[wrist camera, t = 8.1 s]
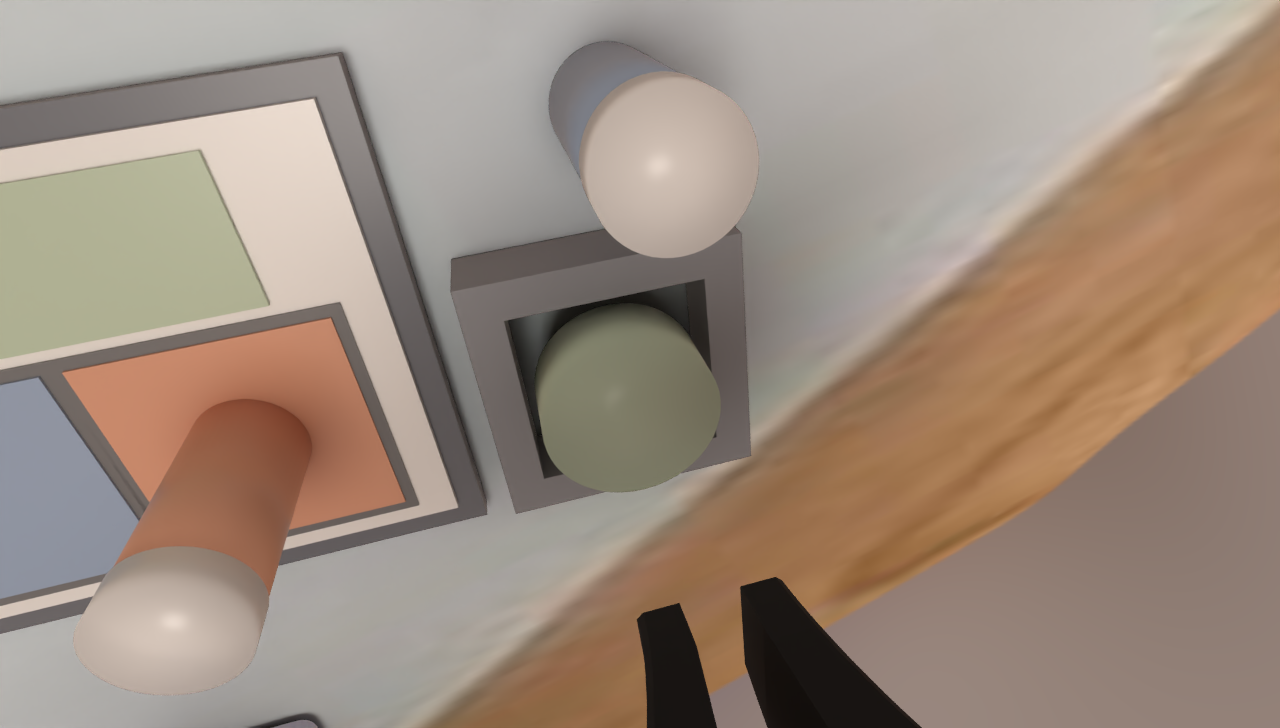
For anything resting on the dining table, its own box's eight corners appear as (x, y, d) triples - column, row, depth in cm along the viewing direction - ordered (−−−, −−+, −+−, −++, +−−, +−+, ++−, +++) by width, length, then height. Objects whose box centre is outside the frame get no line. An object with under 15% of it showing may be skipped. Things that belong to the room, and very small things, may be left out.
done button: (702, 425, 20) (725, 469, 18) (551, 461, 19) (560, 510, 18) (690, 287, 17) (715, 322, 16) (518, 323, 17) (524, 364, 15)
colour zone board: (486, 501, 22) (487, 522, 21) (-77, 638, 20) (-100, 667, 19) (342, 53, 15) (335, 58, 14) (-552, 192, 13) (-620, 207, 12)
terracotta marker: (332, 471, 19) (283, 667, 14) (222, 501, 18) (130, 712, 13) (284, 384, 17) (209, 568, 12) (164, 415, 17) (35, 617, 12)
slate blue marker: (672, 156, 17) (761, 240, 12) (558, 177, 17) (602, 273, 12) (660, 29, 16) (756, 65, 11) (535, 50, 16) (573, 98, 10)
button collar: (728, 417, 22) (751, 455, 20) (511, 469, 21) (515, 513, 19) (715, 207, 18) (741, 232, 17) (451, 259, 17) (450, 291, 16)
